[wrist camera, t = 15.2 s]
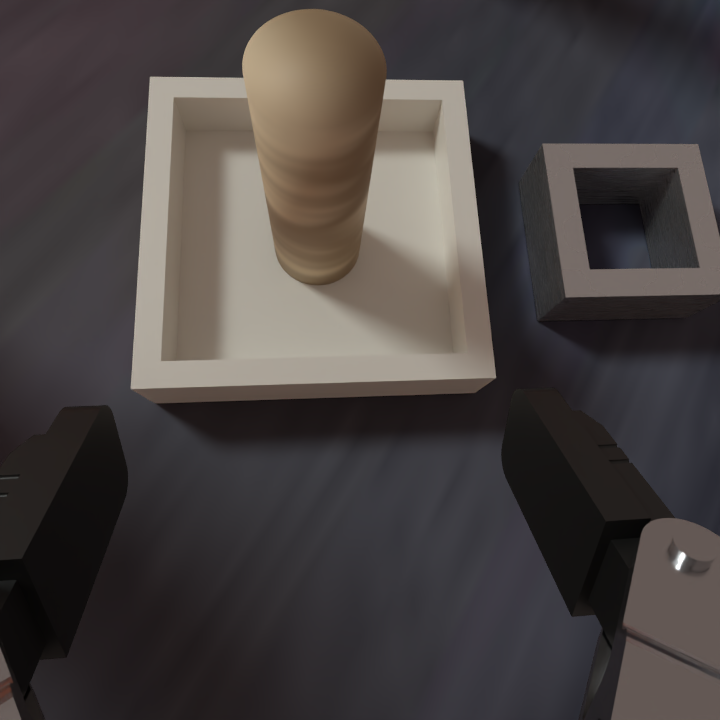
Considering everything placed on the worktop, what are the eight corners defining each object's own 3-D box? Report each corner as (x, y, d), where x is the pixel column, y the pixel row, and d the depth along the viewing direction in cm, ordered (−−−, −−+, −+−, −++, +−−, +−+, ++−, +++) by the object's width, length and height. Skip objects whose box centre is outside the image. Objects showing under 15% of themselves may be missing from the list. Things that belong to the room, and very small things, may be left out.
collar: (537, 321, 29) (565, 297, 26) (518, 182, 31) (542, 143, 28) (686, 317, 30) (733, 294, 26) (658, 182, 32) (698, 144, 28)
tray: (155, 403, 26) (130, 389, 23) (169, 123, 30) (150, 76, 27) (474, 393, 28) (496, 377, 24) (447, 125, 32) (462, 80, 28)
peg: (309, 301, 27) (301, 154, 16) (257, 238, 28) (213, 51, 16) (376, 253, 28) (415, 81, 17) (324, 193, 29) (327, -13, 17)
